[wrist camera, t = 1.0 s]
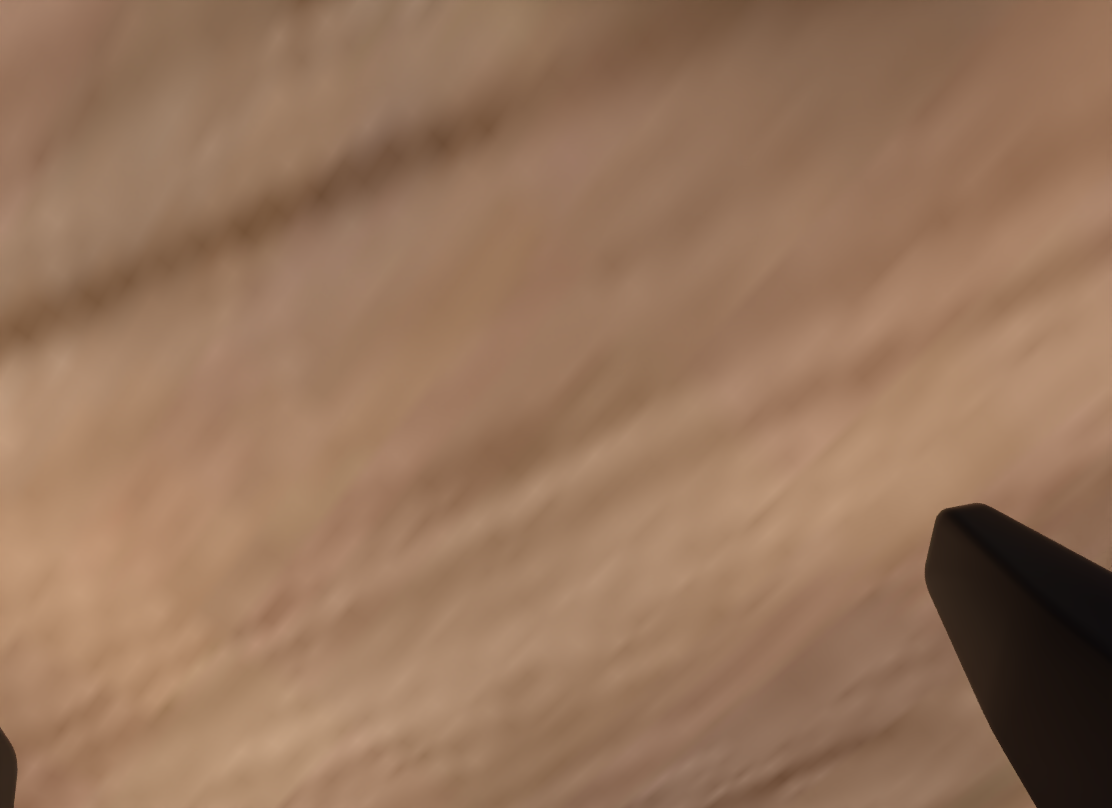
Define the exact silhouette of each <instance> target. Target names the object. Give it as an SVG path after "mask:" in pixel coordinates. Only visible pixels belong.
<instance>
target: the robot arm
mask: <svg viewBox="0 0 1112 808" xmlns="http://www.w3.org/2000/svg"><path fill="white" fill-rule="evenodd" d="M925 580H926V585H927V588H928V591H929V593H930V596H931V598H932V600H933V602H934V605H935V607H936V609H937V611H938V614H939V616H940V618H941V620H942V622H943V625H944V627H945V629H946V631H947V634H948V636H949V638H950V640H951V642H952V645H953V647H954V649H955V651H956V653H957V656H958V658H959V660H960V662H961V665H962V667H963V669H964V671H965V673H966V676H967V678H968V680H969V682H970V685H971V687H972V689H973V691H974V693H975V696H976V698H977V700H978V702H979V705H980V707H981V709H982V711H983V713H984V715H985V717H986V719H987V721H988V723H989V725H990V727H991V729H992V731H993V733H994V735H995V736H996V738H997V740H998V742H999V744H1000V745H1001V747H1002V749H1003V751H1004V753H1005V754H1006V756H1007V758H1008V759H1009V761H1010V763H1011V764H1012V766H1013V768H1014V770H1015V771H1016V773H1017V775H1018V776H1019V778H1020V780H1021V782H1022V783H1023V785H1024V787H1025V788H1026V790H1027V792H1028V794H1029V795H1030V797H1031V799H1032V800H1033V802H1034V804H1035V805H1036V807H1037V808H1112V572H1111V571H1109V570H1107V569H1105V568H1103V567H1101V566H1099V565H1098V564H1096V563H1094V562H1092V561H1090V560H1088V559H1086V558H1085V557H1083V556H1081V555H1079V554H1077V553H1075V552H1074V551H1072V550H1070V549H1068V548H1066V547H1064V546H1062V545H1061V544H1059V543H1057V542H1055V541H1053V540H1051V539H1049V538H1048V537H1046V536H1044V535H1042V534H1040V533H1038V532H1036V531H1035V530H1033V529H1031V528H1029V527H1027V526H1025V525H1023V524H1022V523H1020V522H1018V521H1016V520H1014V519H1012V518H1010V517H1009V516H1007V515H1005V514H1003V513H1001V512H999V511H997V510H996V509H994V508H992V507H990V506H988V505H985V504H981V503H973V504H967V505H962V506H957V507H951V508H946V509H944V510H942V511H941V512H940V513H939V514H938V516H937V517H936V520H935V524H934V528H933V533H932V537H931V542H930V546H929V551H928V555H927V560H926V564H925ZM16 781H17V759H16V754H15V751H14V748H13V746H12V744H11V743H10V741H9V740H8V738H7V737H6V735H5V734H4V732H3V731H2V729H1V728H0V808H14V799H15V790H16Z"/></svg>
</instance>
